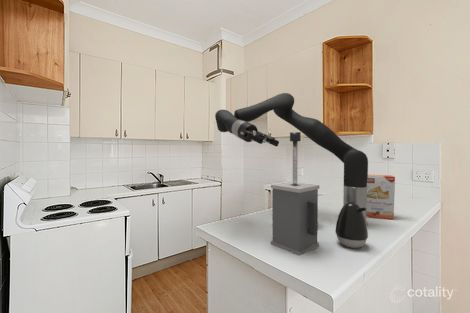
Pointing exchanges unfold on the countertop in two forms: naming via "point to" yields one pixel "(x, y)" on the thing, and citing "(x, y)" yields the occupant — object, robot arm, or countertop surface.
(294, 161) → the plunger
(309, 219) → the press
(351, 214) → the black egg-shaped dispenser
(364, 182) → the robot arm
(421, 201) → the countertop surface
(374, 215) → the cracker box
